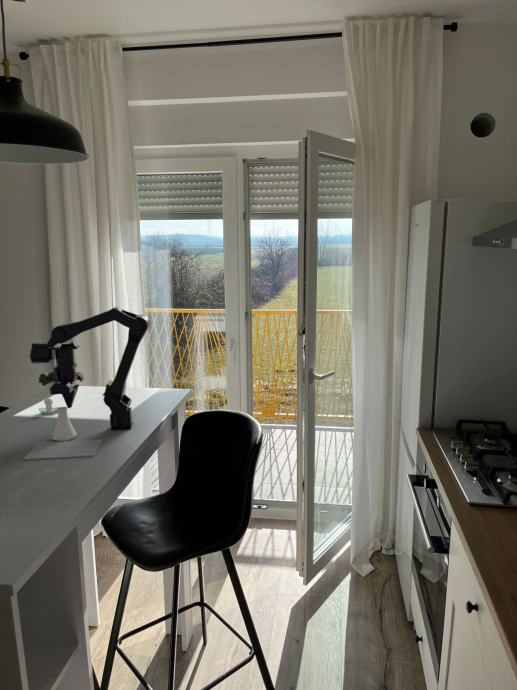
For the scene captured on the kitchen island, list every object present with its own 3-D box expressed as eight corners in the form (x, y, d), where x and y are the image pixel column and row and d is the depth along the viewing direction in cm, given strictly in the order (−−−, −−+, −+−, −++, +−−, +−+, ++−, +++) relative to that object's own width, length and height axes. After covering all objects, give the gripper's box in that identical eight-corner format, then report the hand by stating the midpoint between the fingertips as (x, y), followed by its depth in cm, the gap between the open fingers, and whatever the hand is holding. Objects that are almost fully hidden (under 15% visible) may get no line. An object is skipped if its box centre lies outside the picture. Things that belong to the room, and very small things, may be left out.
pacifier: (42, 411, 202) (37, 415, 196) (41, 395, 201) (36, 399, 195) (62, 410, 202) (58, 414, 196) (61, 394, 201) (56, 398, 195)
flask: (48, 440, 169) (45, 410, 168) (62, 433, 176) (59, 404, 174) (67, 442, 167) (64, 412, 166) (81, 435, 174) (78, 405, 172)
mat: (103, 440, 168) (102, 439, 168) (93, 456, 156) (93, 455, 156) (38, 443, 167) (37, 442, 167) (23, 460, 154) (23, 458, 154)
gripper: (49, 357, 184) (53, 401, 187) (30, 369, 166) (35, 417, 169) (81, 356, 185) (85, 399, 188) (67, 368, 167) (71, 416, 170)
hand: (69, 407), depth 178 cm, fingers closed
